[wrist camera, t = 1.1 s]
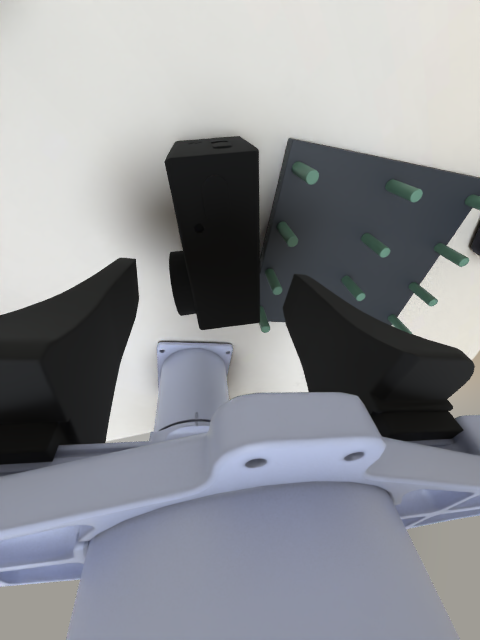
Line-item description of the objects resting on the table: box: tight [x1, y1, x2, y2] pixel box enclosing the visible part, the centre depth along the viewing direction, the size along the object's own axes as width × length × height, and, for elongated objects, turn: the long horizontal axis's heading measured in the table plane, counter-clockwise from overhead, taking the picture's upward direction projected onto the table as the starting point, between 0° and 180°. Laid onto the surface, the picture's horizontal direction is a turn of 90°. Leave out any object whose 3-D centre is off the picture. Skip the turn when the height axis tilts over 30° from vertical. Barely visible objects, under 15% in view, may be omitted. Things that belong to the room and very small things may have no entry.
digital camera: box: [165, 136, 260, 330], centre depth 17 cm, size 10×5×7 cm, turn 3°
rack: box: [259, 138, 480, 334], centre depth 22 cm, size 15×16×4 cm
